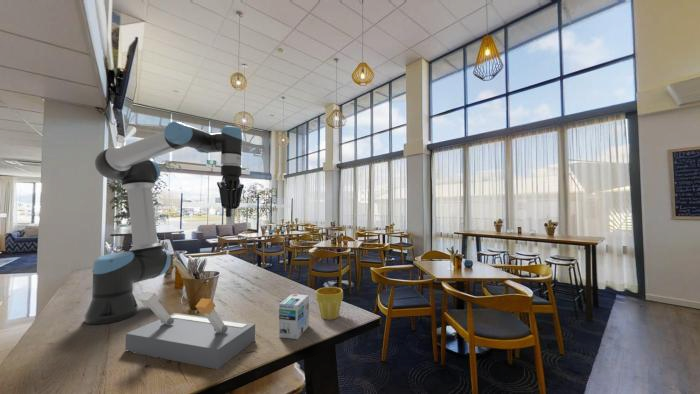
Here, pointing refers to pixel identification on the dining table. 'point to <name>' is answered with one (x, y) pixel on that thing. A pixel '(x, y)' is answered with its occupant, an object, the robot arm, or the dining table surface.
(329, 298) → the plant pot
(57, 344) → the dining table surface
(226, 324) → the box
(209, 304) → the breaker
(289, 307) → the light bulb box
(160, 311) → the breaker on
